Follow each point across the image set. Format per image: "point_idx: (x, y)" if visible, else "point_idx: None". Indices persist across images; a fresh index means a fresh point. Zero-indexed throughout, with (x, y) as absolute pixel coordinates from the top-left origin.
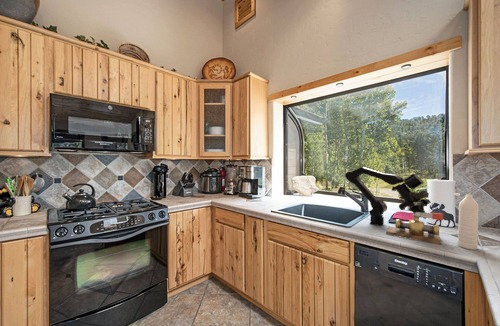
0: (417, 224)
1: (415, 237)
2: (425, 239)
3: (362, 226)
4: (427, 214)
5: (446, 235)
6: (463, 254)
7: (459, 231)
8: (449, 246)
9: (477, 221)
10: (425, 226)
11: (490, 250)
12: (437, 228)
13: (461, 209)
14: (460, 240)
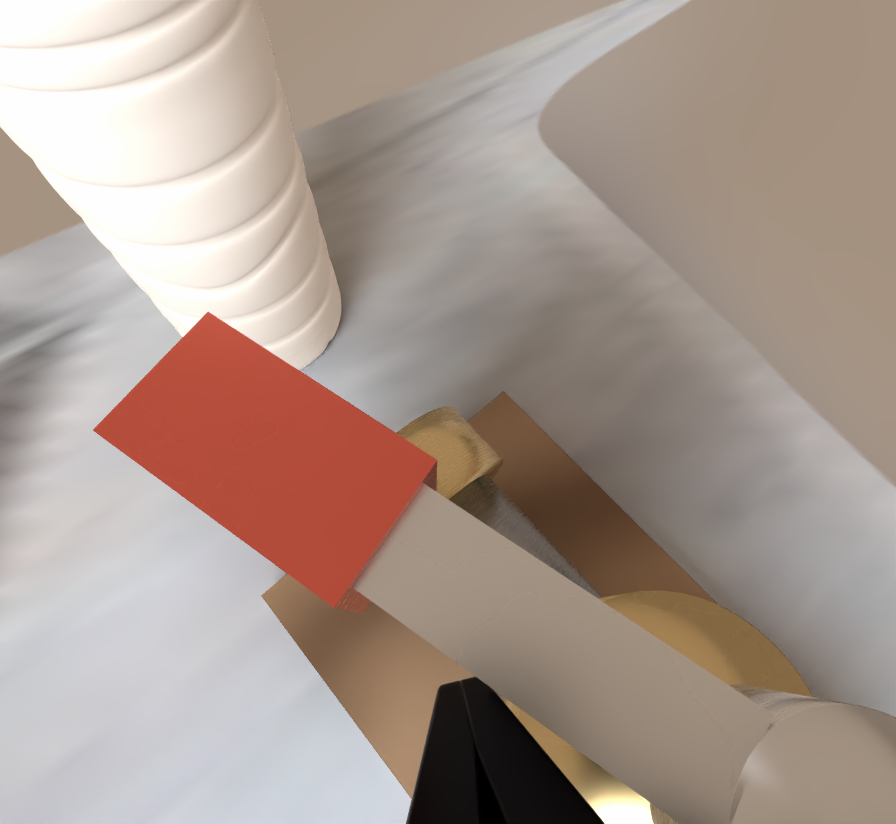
0: (738, 627)
1: (700, 590)
2: (613, 504)
3: None
4: (557, 578)
5: (29, 681)
6: (509, 205)
7: (283, 236)
8: (447, 354)
9: None
10: (568, 575)
11: None
12: (460, 425)
13: None
14: (325, 288)
